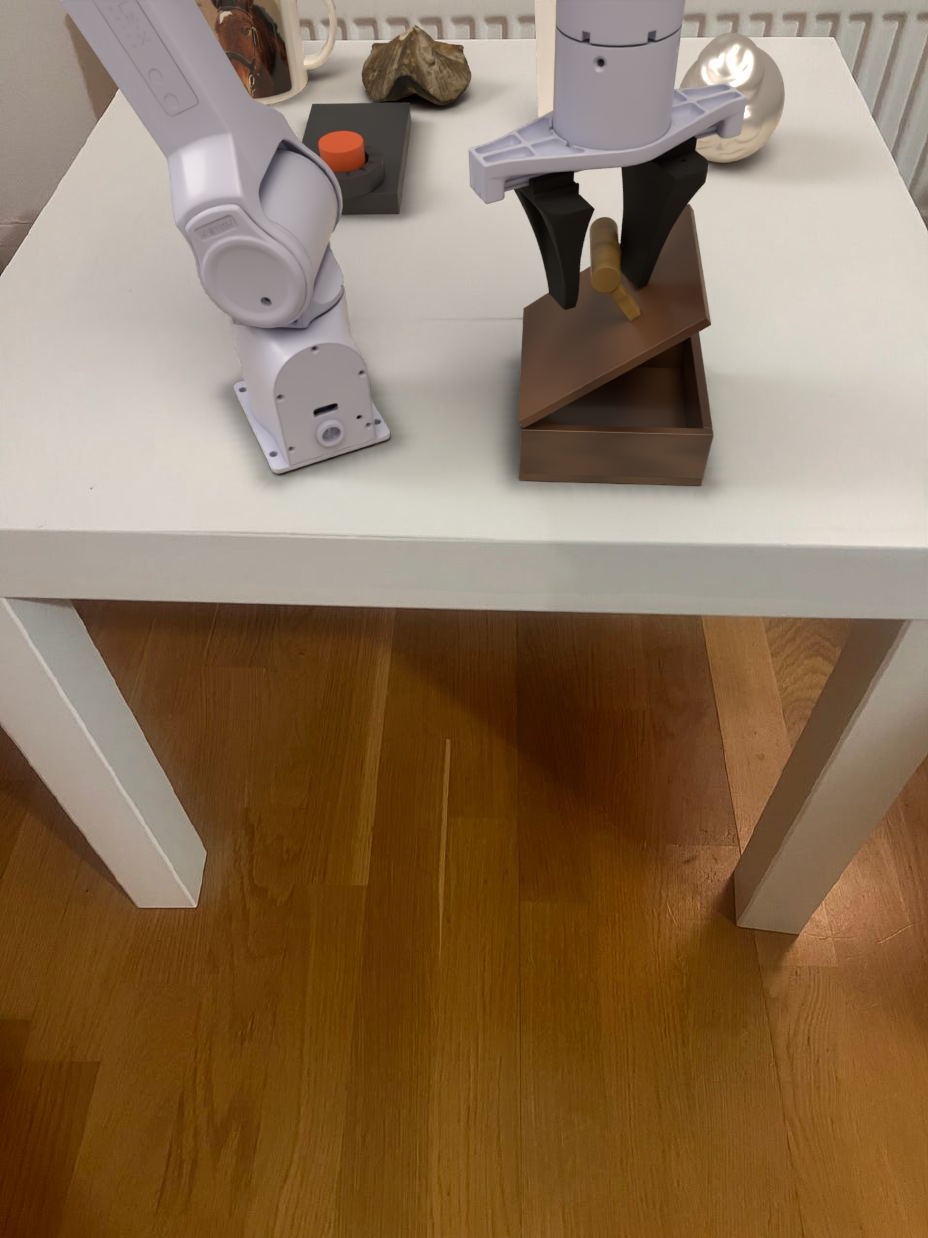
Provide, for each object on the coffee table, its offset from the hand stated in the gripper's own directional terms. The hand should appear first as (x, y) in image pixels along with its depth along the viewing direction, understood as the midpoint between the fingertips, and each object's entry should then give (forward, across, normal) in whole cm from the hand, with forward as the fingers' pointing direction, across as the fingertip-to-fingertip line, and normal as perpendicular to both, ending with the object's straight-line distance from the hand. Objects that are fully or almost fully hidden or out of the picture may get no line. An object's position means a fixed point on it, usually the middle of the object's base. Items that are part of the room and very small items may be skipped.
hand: (598, 288), depth 53 cm
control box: (+9, +2, -39) cm, 40 cm away
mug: (+9, +5, -58) cm, 59 cm away
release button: (+6, +5, -34) cm, 34 cm away
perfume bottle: (+10, -16, -35) cm, 39 cm away
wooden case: (+10, -1, 0) cm, 10 cm away
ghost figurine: (+10, -27, -26) cm, 39 cm away
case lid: (+2, -1, 0) cm, 2 cm away
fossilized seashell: (+10, -8, -49) cm, 50 cm away
